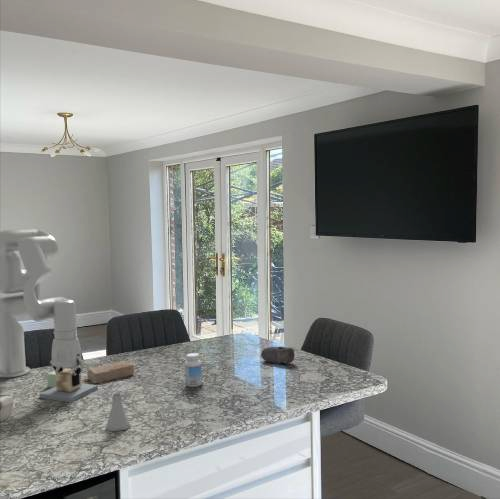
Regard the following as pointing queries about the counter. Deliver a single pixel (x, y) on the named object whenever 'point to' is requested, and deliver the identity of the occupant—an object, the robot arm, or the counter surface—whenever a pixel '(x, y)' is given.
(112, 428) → the flask
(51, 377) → the sage block
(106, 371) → the brick
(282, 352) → the perforated stone tool
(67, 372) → the beech block
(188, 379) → the pill bottle
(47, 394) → the board
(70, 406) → the counter surface
